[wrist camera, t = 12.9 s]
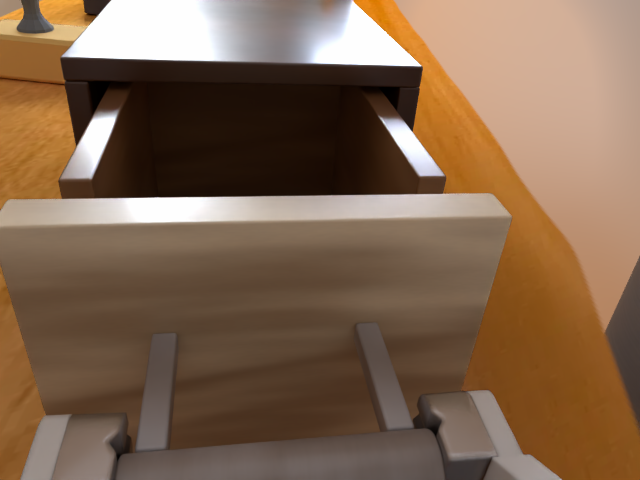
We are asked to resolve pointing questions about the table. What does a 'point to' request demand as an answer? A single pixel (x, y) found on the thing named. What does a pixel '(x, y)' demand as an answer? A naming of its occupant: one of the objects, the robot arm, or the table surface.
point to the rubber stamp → (34, 46)
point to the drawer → (253, 282)
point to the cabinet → (236, 49)
